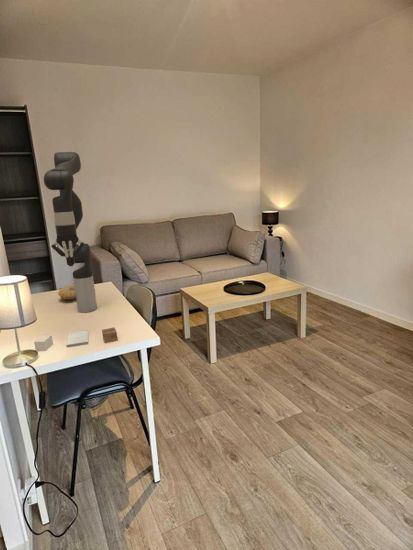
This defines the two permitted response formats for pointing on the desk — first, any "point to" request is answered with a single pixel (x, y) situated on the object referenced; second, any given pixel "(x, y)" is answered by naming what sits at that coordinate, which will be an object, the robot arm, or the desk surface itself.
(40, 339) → the grey plastic block
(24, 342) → the desk surface
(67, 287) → the tan rounded lump
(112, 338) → the walnut block
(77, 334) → the hard drive
